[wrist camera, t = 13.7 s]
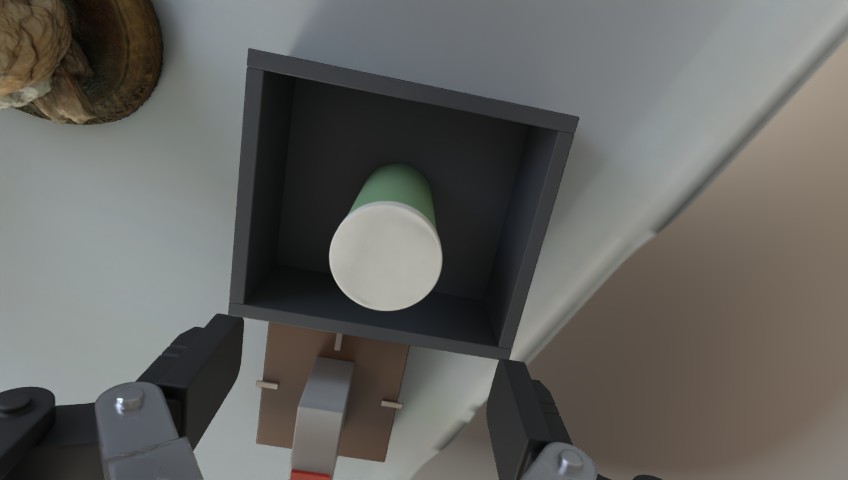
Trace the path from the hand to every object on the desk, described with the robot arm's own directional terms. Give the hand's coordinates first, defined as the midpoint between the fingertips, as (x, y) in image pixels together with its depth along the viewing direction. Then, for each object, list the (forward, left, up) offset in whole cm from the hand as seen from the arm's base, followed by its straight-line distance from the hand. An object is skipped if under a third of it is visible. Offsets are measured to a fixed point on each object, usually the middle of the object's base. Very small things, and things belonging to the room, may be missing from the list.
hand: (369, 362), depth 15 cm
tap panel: (+12, -2, -17) cm, 21 cm away
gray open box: (-2, 0, -17) cm, 17 cm away
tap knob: (+12, -2, -14) cm, 18 cm away
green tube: (-1, 0, -16) cm, 16 cm away
